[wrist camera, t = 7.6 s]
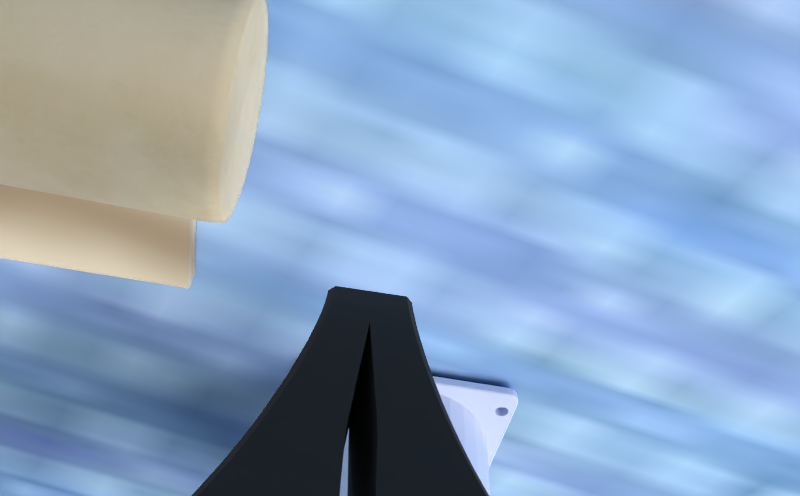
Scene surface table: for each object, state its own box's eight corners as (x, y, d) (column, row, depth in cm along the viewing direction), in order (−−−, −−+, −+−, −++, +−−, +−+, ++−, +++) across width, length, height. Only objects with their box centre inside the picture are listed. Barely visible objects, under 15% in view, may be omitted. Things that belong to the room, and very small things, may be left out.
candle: (216, 121, 13) (-382, 2, 12) (223, 268, 18) (-208, 190, 17) (274, -63, 16) (-203, -172, 15) (267, 104, 21) (-97, 30, 20)
